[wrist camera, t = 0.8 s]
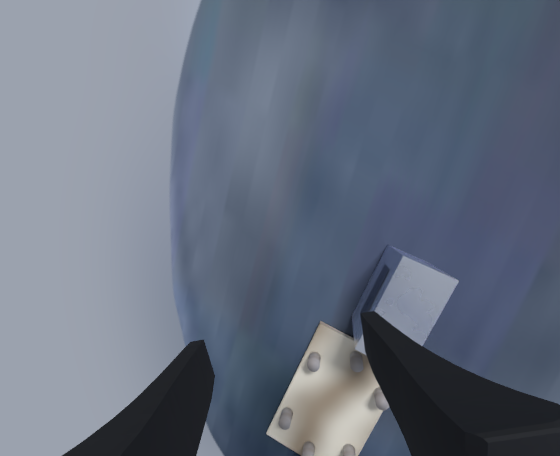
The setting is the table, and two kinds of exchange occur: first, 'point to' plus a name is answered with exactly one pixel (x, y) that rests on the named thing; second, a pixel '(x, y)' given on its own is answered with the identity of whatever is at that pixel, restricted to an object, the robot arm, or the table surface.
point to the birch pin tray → (329, 399)
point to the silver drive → (404, 295)
